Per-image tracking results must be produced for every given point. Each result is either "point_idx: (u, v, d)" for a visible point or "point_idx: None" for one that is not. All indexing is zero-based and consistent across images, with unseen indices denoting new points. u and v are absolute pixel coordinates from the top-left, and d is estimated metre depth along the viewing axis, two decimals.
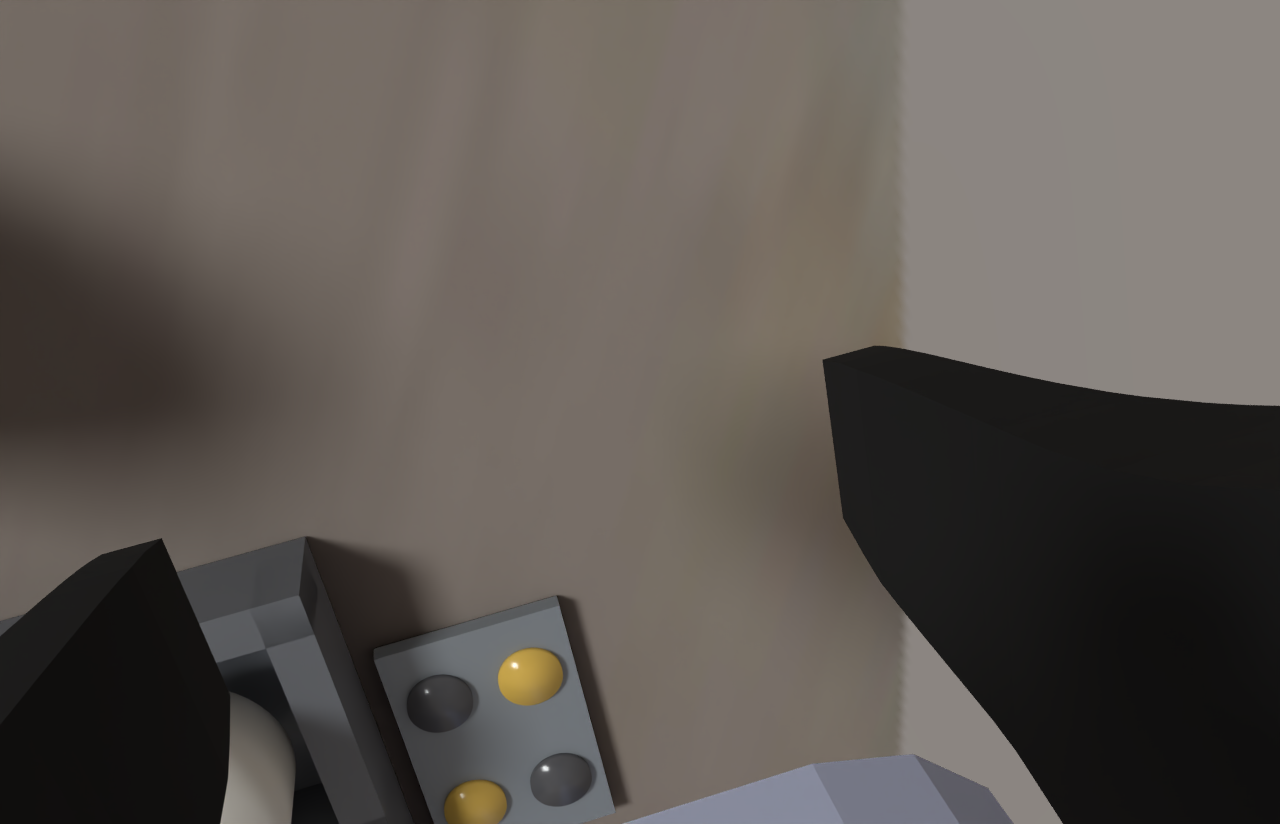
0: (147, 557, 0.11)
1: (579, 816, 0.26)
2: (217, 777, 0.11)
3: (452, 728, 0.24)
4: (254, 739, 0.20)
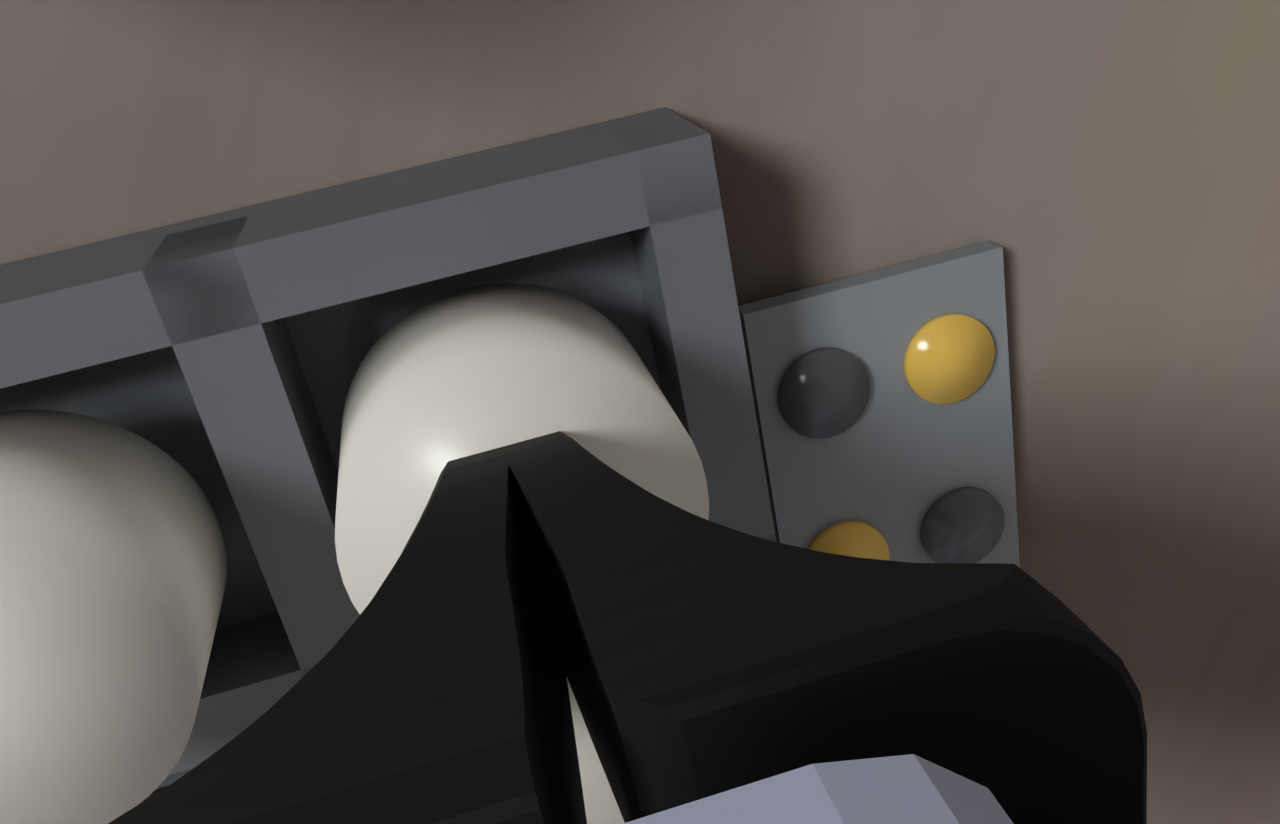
0: None
1: None
2: (563, 674, 0.11)
3: (836, 433, 0.17)
4: (634, 355, 0.13)
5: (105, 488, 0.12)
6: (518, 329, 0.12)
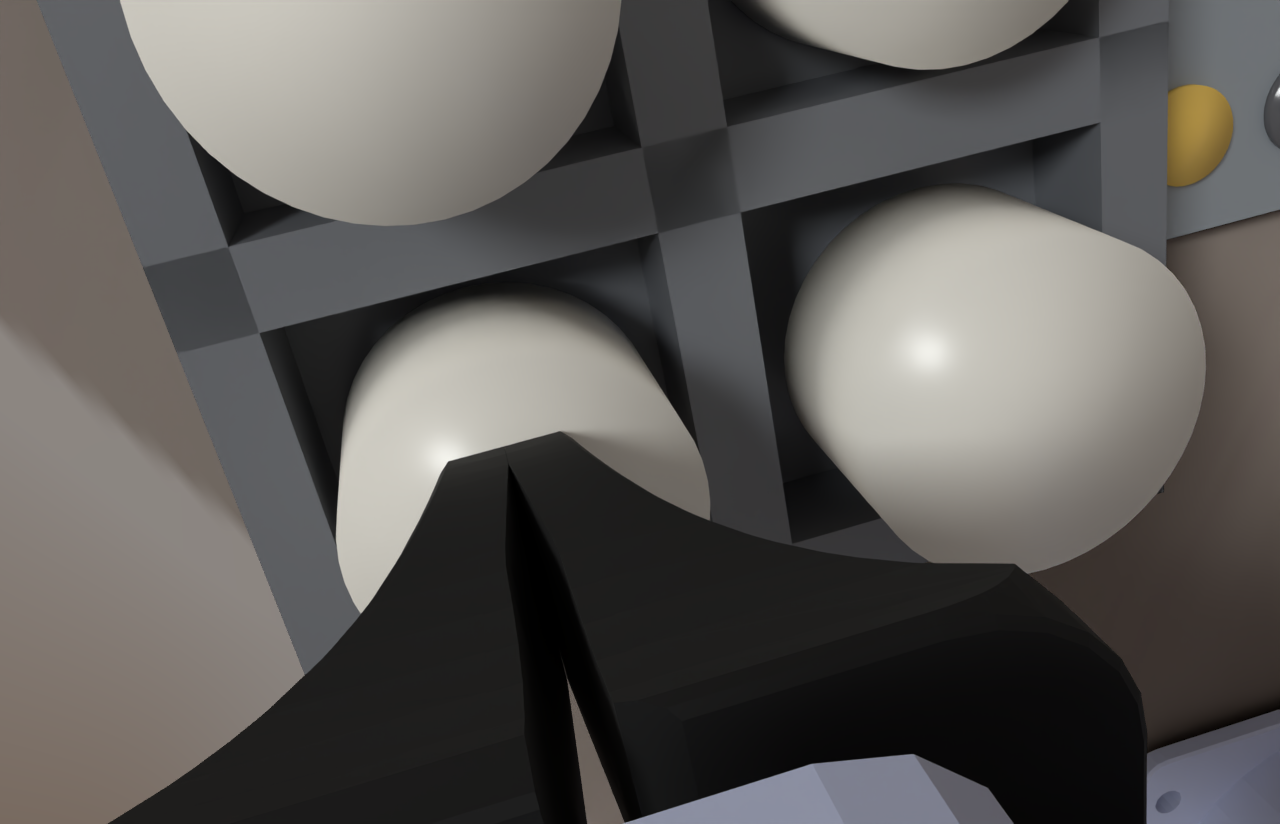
0: (507, 459, 0.11)
1: None
2: (563, 674, 0.11)
3: None
4: None
5: None
6: None
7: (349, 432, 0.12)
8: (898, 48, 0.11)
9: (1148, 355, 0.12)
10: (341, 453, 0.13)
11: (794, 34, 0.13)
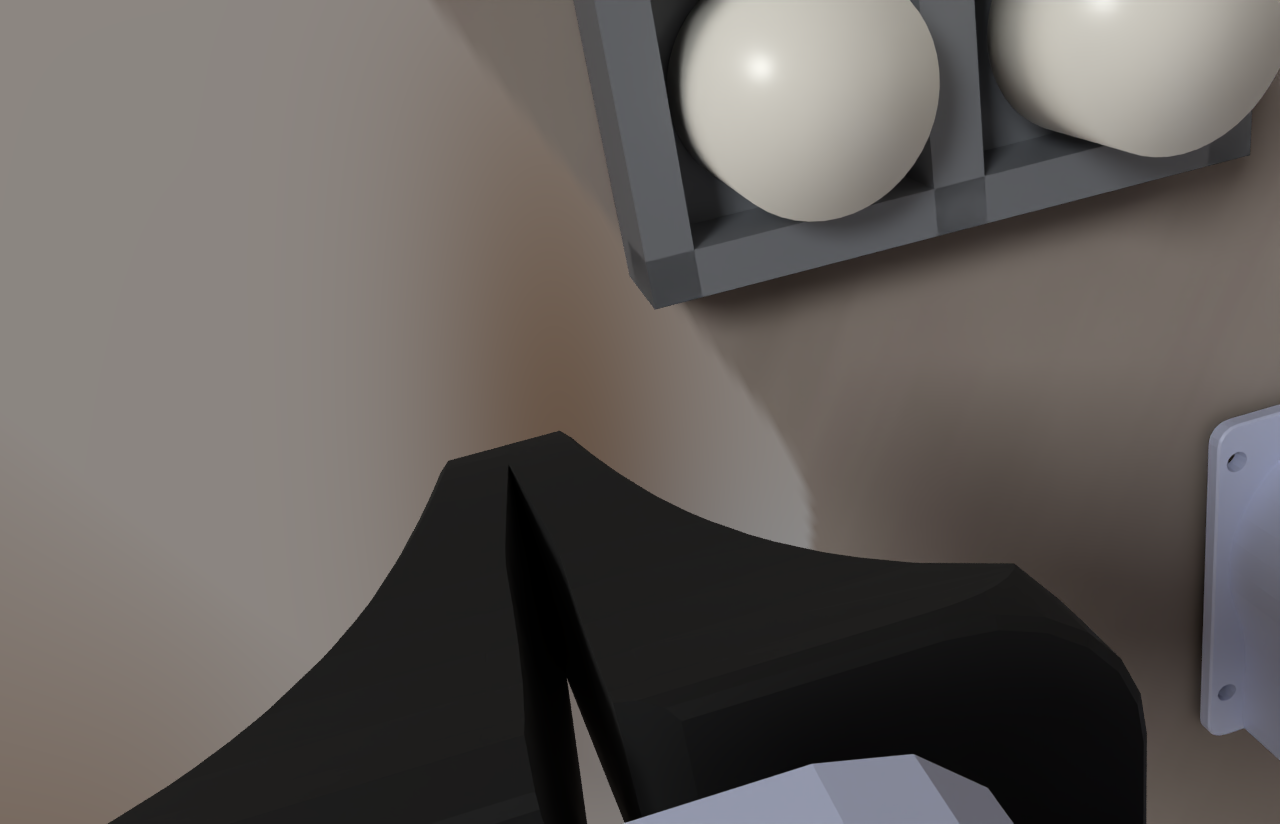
0: None
1: None
2: (563, 674, 0.11)
3: None
4: None
5: None
6: None
7: (699, 42, 0.18)
8: None
9: None
10: (686, 64, 0.19)
11: None
